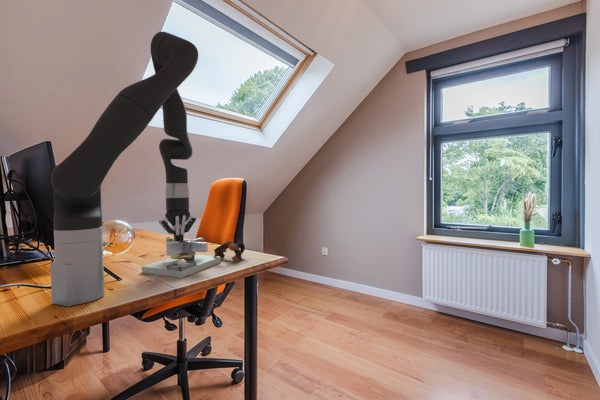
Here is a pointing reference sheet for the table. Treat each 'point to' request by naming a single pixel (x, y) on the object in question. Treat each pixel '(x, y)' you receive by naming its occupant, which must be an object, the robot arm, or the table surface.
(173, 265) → the stand
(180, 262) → the ball
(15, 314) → the table surface
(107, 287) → the table surface
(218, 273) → the table surface
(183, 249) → the capstan
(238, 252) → the gnarled brown arch
